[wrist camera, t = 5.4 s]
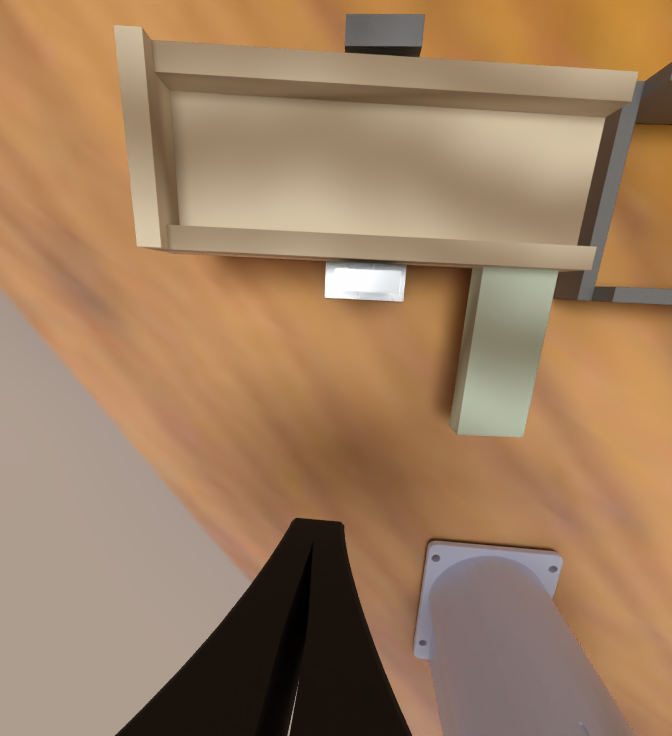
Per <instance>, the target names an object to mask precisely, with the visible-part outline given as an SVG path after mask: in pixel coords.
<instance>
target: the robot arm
mask: <svg viewBox="0 0 672 736" xmlns="http://www.w3.org/2000/svg"><path fill="white" fill-rule="evenodd" d="M434 555H438V556H435V557H433V556H434ZM562 564H563V559H562V557H561V556H560V555H559V554H558V553H557V552H555V551H546V550H535V549H524V548H513V547H502V546H491V545H480V544H469V543H457V542H446V541H432V542H430V543H429V544H428V547H427V554H426V560H425V567H424V574H423V581H422V588H421V595H420V602H419V609H418V616H417V623H416V630H415V637H414V644H413V652H414V655H415V657H417V658H419V659H427V660H429V663H430V668H431V673H432V678H433V684H434V689H435V694H436V700H437V705H438V710H439V716H440V721H441V726H442V731H443V736H636V735H635V733H634V731H633V730H632V728H631V727H630V725H629V723H628V722H627V720H626V718H625V717H624V715H623V714H622V712H621V710H620V709H619V707H618V705H617V704H616V702H615V701H614V699H613V697H612V696H611V694H610V693H609V691H608V689H607V688H606V686H605V684H604V683H603V681H602V680H601V678H600V676H599V675H598V673H597V672H596V670H595V668H594V667H593V665H592V663H591V662H590V660H589V659H588V657H587V655H586V654H585V652H584V650H583V649H582V647H581V646H580V644H579V642H578V641H577V639H576V638H575V636H574V634H573V633H572V631H571V629H570V628H569V626H568V625H567V623H566V621H565V620H564V618H563V616H562V615H561V613H560V612H559V610H558V608H557V607H556V605H555V604H554V602H553V596H554V593H555V589H556V586H557V582H558V578H559V575H560V571H561V568H562ZM299 677H300V678H299ZM298 682H299V684H298ZM297 687H298V690H297ZM296 692H297V696H296ZM295 696H296V701H295ZM294 701H295V707H294V713H293V719H292V724H291V730H290V735H289V736H412V734H411V732H410V729H409V727H408V725H407V723H406V720H405V718H404V716H403V713H402V711H401V709H400V707H399V704H398V702H397V700H396V697H395V695H394V693H393V690H392V688H391V685H390V683H389V681H388V678H387V676H386V673H385V671H384V668H383V666H382V663H381V661H380V658H379V655H378V653H377V650H376V647H375V645H374V642H373V639H372V636H371V633H370V630H369V628H368V625H367V622H366V619H365V616H364V613H363V610H362V607H361V604H360V600H359V597H358V593H357V590H356V586H355V583H354V579H353V576H352V572H351V568H350V563H349V559H348V554H347V549H346V542H345V533H344V525H343V524H342V523H341V522H337V521H326V520H314V519H303V518H296V519H294V520H293V521H292V522H291V524H290V526H289V528H288V530H287V531H286V533H285V535H284V537H283V538H282V540H281V541H280V543H279V545H278V546H277V548H276V549H275V551H274V552H273V554H272V555H271V557H270V558H269V560H268V561H267V563H266V564H265V565H264V567H263V568H262V570H261V571H260V572H259V574H258V575H257V577H256V578H255V580H254V581H253V582H252V584H251V585H250V586H249V588H248V589H247V591H246V592H245V593H244V594H243V596H242V597H241V598H240V599H239V601H238V602H237V603H236V604H235V606H234V607H233V608H232V610H231V611H230V612H229V613H228V615H227V616H226V617H225V618H224V620H223V621H222V622H221V623H220V625H219V626H218V627H217V628H216V629H215V631H214V632H213V633H212V634H211V635H210V636H209V638H208V639H207V640H206V641H205V642H204V643H203V644H202V646H201V647H200V648H199V649H198V650H197V651H196V652H195V653H194V654H193V656H192V657H191V658H190V659H189V660H188V661H187V662H186V663H185V665H184V666H183V667H182V668H181V669H180V670H179V671H178V672H177V673H176V674H175V675H174V676H173V677H172V678H171V679H170V680H169V681H168V683H167V684H166V685H165V686H164V687H163V688H162V689H161V690H160V691H159V692H158V693H157V694H156V695H155V696H154V697H153V698H152V699H151V700H150V701H149V702H148V703H147V704H146V705H145V707H143V709H142V710H140V711H139V713H137V714H136V715H135V717H134V718H132V720H130V721H129V722H128V723H127V724H126V725H125V727H123V728H122V729H121V730H120V731H119V732H118V733H117V734H116V735H115V736H287V734H288V730H289V725H290V720H291V715H292V710H293V706H294Z"/></svg>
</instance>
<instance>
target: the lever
mask: <svg viewBox="0 0 672 736" xmlns="http://www.w3.org/2000/svg"><path fill="white" fill-rule="evenodd" d="M114 33H115V42H116V52H117V61H118V71H119V80H120V89H121V99H122V108H123V118H124V127H125V136H126V146H127V155H128V165H129V174H130V184H131V193H132V202H133V212H134V221H135V231H136V240H137V246H138V247H143V248H148V249H153V250H158V251H163V252H168V253H173V254H193V255H214V256H234V257H254V258H275V259H295V260H315V261H336V262H356V263H376V264H397V265H417V266H437V267H458V268H472V275H471V282H470V289H469V295H468V302H467V309H466V316H465V322H464V329H463V336H462V343H461V349H460V356H459V363H458V370H457V377H456V383H455V390H454V397H453V404H452V410H451V417H450V424H449V425H450V427H451V428H452V429H453V430H454V431H455V433H456V434H457V435H478V436H506V437H523V435H524V430H525V426H526V421H527V416H528V412H529V407H530V402H531V398H532V393H533V388H534V384H535V379H536V374H537V370H538V365H539V360H540V356H541V351H542V346H543V342H544V337H545V332H546V328H547V323H548V318H549V313H550V309H551V304H552V299H553V295H554V290H555V285H556V281H557V276H558V272H567V271H584V270H591V269H592V265H593V261H594V256H595V252H596V248H597V247H592V246H577V243H578V238H579V234H580V229H581V225H582V220H583V216H584V211H585V207H586V202H587V198H588V194H589V189H590V185H591V180H592V176H593V171H594V167H595V162H596V158H597V153H598V149H599V144H600V140H601V135H602V131H603V127H604V122H605V118H606V117H607V116H609V115H610V114H612V113H614V112H615V111H617V110H619V109H620V108H622V107H623V106H625V105H627V104H628V103H630V102H631V101H632V97H633V93H634V89H635V85H636V81H637V76H638V72H634V71H619V70H604V69H588V68H573V67H558V66H542V65H527V64H512V63H496V62H481V61H466V60H451V59H435V58H420V57H405V56H389V55H374V54H359V53H343V52H328V51H313V50H297V49H282V48H267V47H252V46H236V45H221V44H206V43H190V42H175V41H160V40H151V39H150V37H149V36H148V35H147V33H146V32H145V31H144V29H143V28H142V27H134V26H119V25H114Z"/></svg>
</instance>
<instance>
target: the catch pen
mask: <svg viewBox="0 0 672 736" xmlns="http://www.w3.org/2000/svg"><path fill="white" fill-rule="evenodd" d="M634 124H672V62H671V63H670V64H668V65H667V66H666V67H664V68H663V69H661V70H660V71H659V72H657V73H656V74H654V75H653V76H652V77H650V78H649V79H647V80H646V81H636V85H635V89H634V93H633V97H632V101H631V102H630V103H628V104H627V105H625V106H623V107H622V108H620V109H619V110H617V111H615V112H614V113H612V114H610V115H609V116H607V117H606V118H605V122H604V127H603V131H602V135H601V140H600V144H599V149H598V153H597V158H596V162H595V167H594V171H593V176H592V180H591V185H590V189H589V194H588V198H587V202H586V207H585V211H584V216H583V220H582V225H581V229H580V234H579V238H578V243H577V246H592V247H597V248H596V252H595V256H594V261H593V265H592V269H591V270H584V271H567V272H559V275H558V280H557V284H556V289H555V294H554V299H570V300H589V301H606V302H625V303H645V304H666V305H672V289H653V288H631V287H595V284H596V280H597V275H598V271H599V267H600V263H601V259H602V255H603V251H604V247H605V243H606V239H607V235H608V231H609V226H610V222H611V218H612V214H613V210H614V206H615V202H616V198H617V194H618V190H619V186H620V181H621V177H622V173H623V169H624V165H625V161H626V157H627V153H628V149H629V145H630V141H631V137H632V132H633V128H634Z"/></svg>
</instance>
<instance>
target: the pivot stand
mask: <svg viewBox="0 0 672 736" xmlns="http://www.w3.org/2000/svg"><path fill="white" fill-rule="evenodd" d="M424 19H425V14H346V34H345V53H359V54H374V55H389V56H405V57H419V56H420V52H421V48H422V41H423V30H424ZM406 267H407V265H397V264H376V263H356V262H336V261H326V277H325V298H343V299H363V300H383V301H403V298H404V288H405V278H406Z"/></svg>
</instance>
